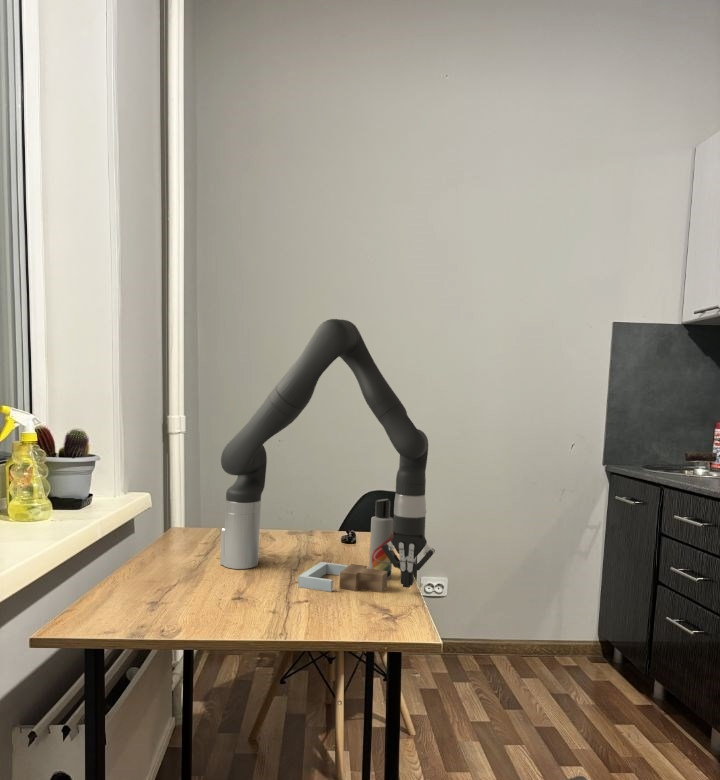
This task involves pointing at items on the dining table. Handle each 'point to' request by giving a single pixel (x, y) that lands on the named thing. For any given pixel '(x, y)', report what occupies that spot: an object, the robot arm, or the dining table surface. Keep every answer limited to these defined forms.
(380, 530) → the lotion bottle
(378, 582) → the t block
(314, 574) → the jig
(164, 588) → the dining table surface
